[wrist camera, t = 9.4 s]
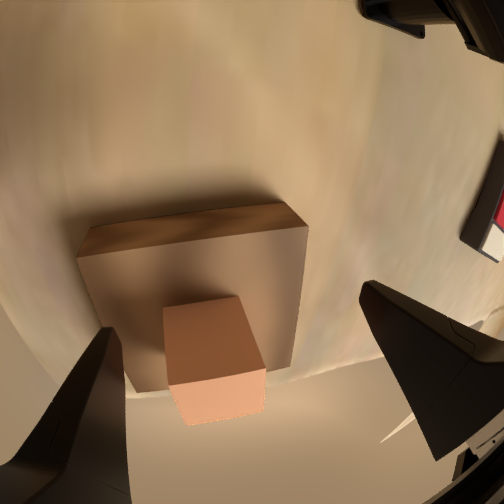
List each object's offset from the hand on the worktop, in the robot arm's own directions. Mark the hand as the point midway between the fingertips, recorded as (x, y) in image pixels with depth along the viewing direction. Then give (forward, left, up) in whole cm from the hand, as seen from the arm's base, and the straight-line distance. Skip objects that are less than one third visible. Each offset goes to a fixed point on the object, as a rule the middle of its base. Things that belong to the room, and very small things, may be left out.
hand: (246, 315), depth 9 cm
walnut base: (+1, +8, -11) cm, 14 cm away
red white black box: (-38, +2, -12) cm, 40 cm away
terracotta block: (+1, +8, -7) cm, 11 cm away
